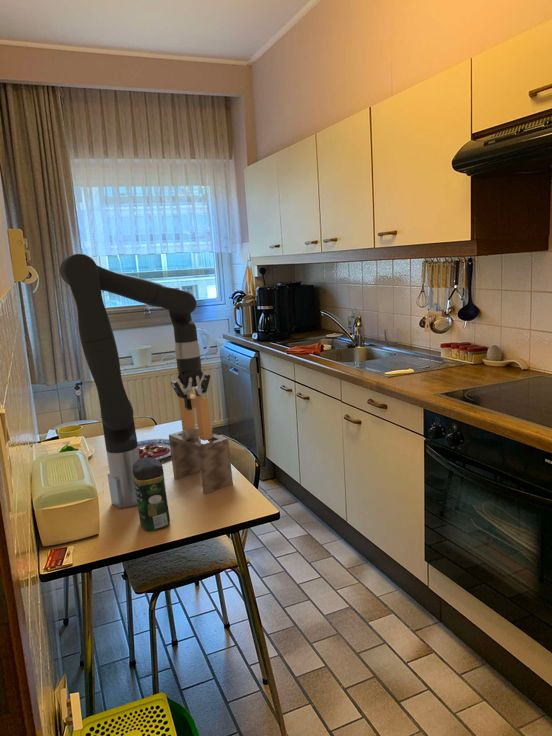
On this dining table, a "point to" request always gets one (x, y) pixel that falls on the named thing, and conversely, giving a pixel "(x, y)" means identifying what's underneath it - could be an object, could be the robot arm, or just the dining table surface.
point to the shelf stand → (201, 458)
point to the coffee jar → (151, 493)
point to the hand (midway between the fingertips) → (194, 408)
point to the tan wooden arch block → (202, 416)
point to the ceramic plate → (154, 448)
